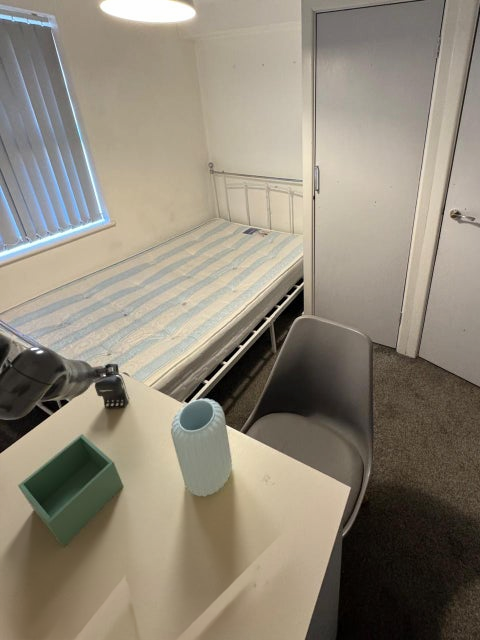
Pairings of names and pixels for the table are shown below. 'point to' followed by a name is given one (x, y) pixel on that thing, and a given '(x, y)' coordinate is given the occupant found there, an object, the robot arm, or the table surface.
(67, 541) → the bin
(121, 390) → the battery charger
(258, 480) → the table surface
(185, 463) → the vase
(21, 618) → the table surface
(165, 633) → the table surface
